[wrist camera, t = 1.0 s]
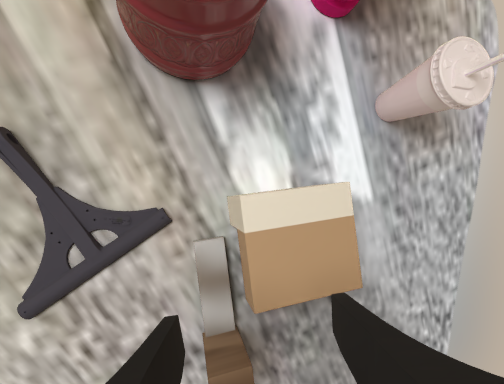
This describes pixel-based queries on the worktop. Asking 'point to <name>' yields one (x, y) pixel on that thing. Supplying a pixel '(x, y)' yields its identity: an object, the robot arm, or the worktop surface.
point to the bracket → (72, 232)
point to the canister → (191, 33)
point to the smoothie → (441, 82)
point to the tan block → (296, 244)
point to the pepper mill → (335, 7)
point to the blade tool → (219, 317)
